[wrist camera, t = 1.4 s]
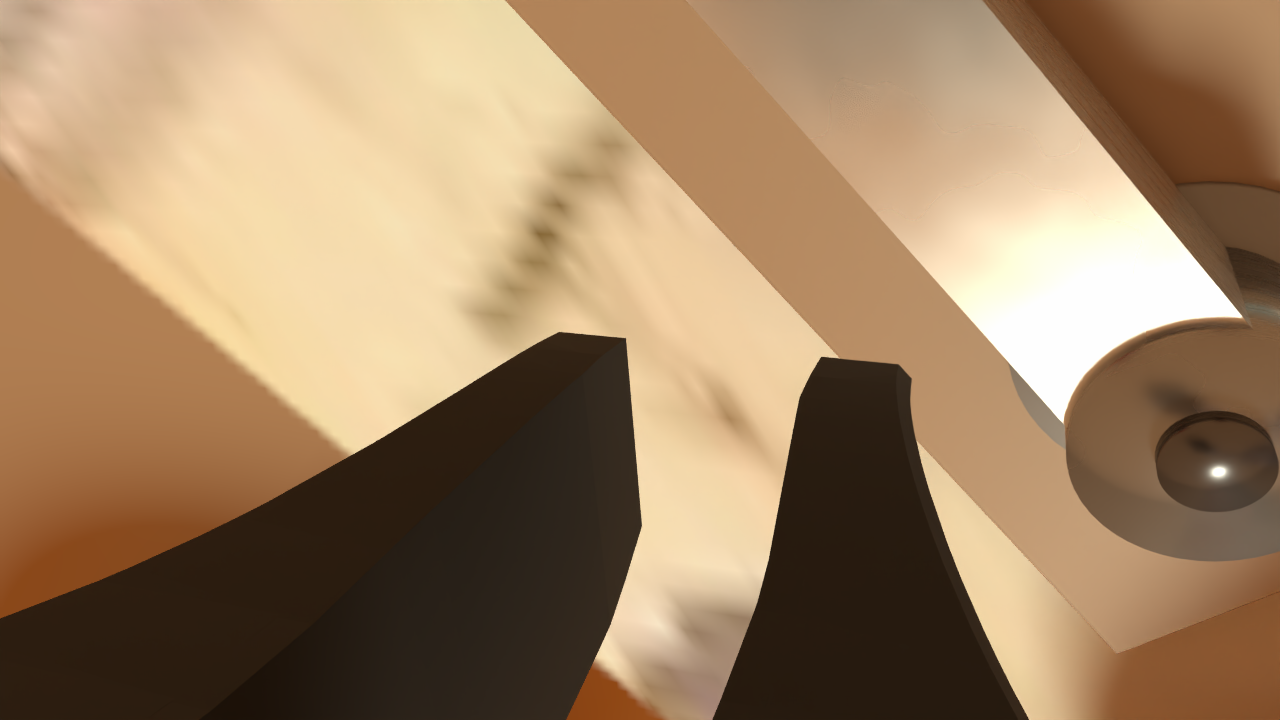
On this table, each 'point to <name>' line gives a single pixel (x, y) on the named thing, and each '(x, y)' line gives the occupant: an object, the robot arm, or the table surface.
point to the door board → (906, 292)
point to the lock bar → (1050, 248)
